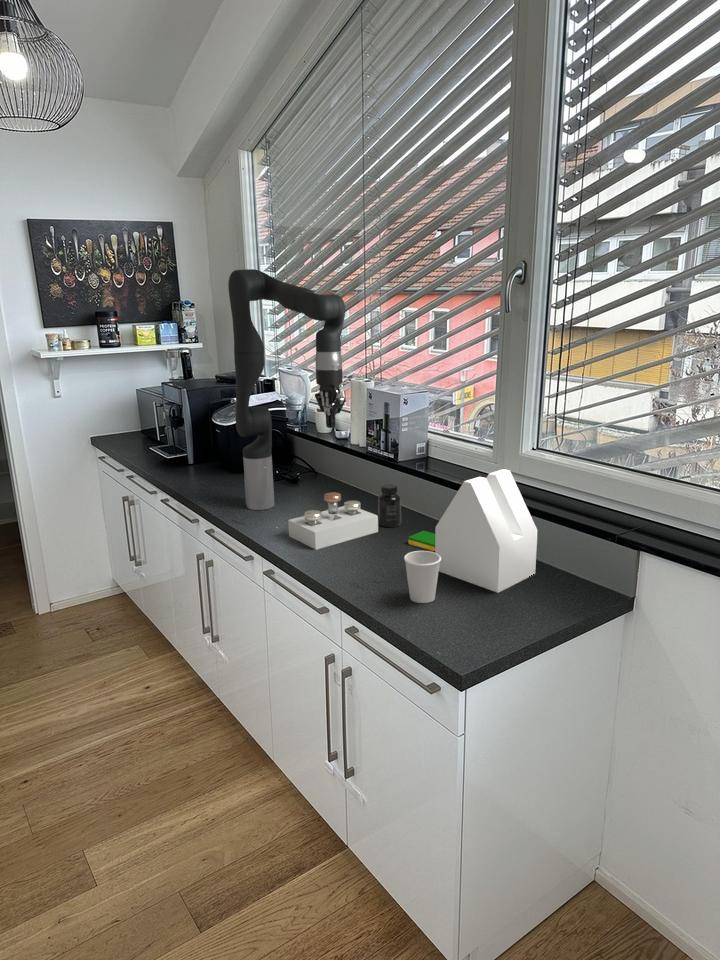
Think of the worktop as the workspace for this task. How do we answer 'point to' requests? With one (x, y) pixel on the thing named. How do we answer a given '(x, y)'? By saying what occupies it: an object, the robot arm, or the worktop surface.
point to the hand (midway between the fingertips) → (330, 427)
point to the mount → (333, 528)
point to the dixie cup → (422, 575)
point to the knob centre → (332, 502)
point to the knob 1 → (312, 517)
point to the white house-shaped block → (487, 534)
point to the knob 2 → (352, 507)
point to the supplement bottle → (389, 506)
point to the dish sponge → (423, 540)
